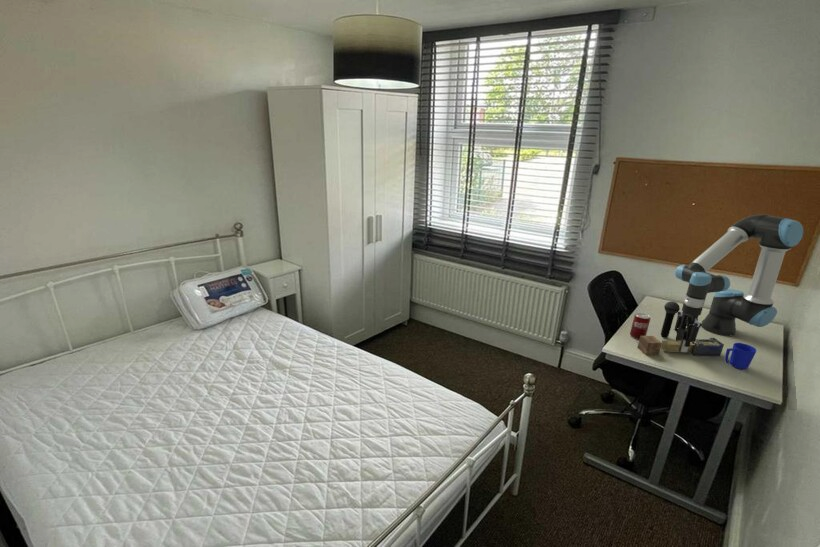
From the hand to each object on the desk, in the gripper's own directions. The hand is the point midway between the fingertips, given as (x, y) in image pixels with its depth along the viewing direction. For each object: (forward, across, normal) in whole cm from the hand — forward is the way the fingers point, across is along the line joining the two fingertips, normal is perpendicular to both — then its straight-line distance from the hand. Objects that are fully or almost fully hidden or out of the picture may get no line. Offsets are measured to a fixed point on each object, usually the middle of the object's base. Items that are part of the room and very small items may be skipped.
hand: (680, 349), depth 193 cm
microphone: (+2, -15, +2) cm, 15 cm away
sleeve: (+2, 0, +11) cm, 11 cm away
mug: (+2, +12, +18) cm, 21 cm away
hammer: (0, 0, +4) cm, 4 cm away
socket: (+2, 0, -16) cm, 16 cm away
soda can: (+2, -15, -12) cm, 19 cm away
